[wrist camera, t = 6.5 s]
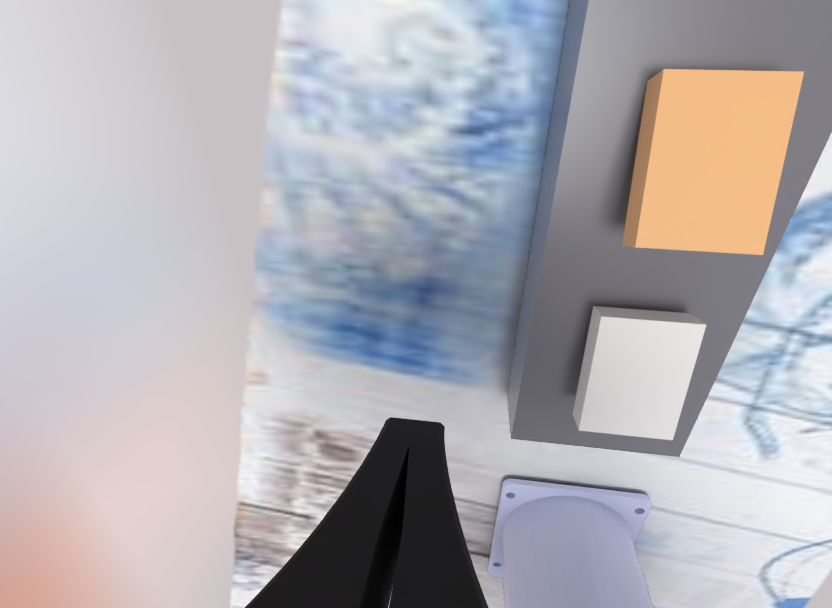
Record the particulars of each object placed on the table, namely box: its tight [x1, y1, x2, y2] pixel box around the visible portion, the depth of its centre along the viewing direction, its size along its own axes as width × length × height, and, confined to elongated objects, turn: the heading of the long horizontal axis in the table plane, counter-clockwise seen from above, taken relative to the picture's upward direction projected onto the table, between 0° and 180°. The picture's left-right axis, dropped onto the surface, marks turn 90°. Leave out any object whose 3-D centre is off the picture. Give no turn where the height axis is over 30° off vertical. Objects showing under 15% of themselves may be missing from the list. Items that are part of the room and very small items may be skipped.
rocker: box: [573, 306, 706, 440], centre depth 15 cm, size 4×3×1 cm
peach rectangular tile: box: [622, 69, 804, 255], centre depth 11 cm, size 4×3×1 cm
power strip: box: [507, 0, 832, 457], centre depth 13 cm, size 26×7×3 cm, turn 179°
